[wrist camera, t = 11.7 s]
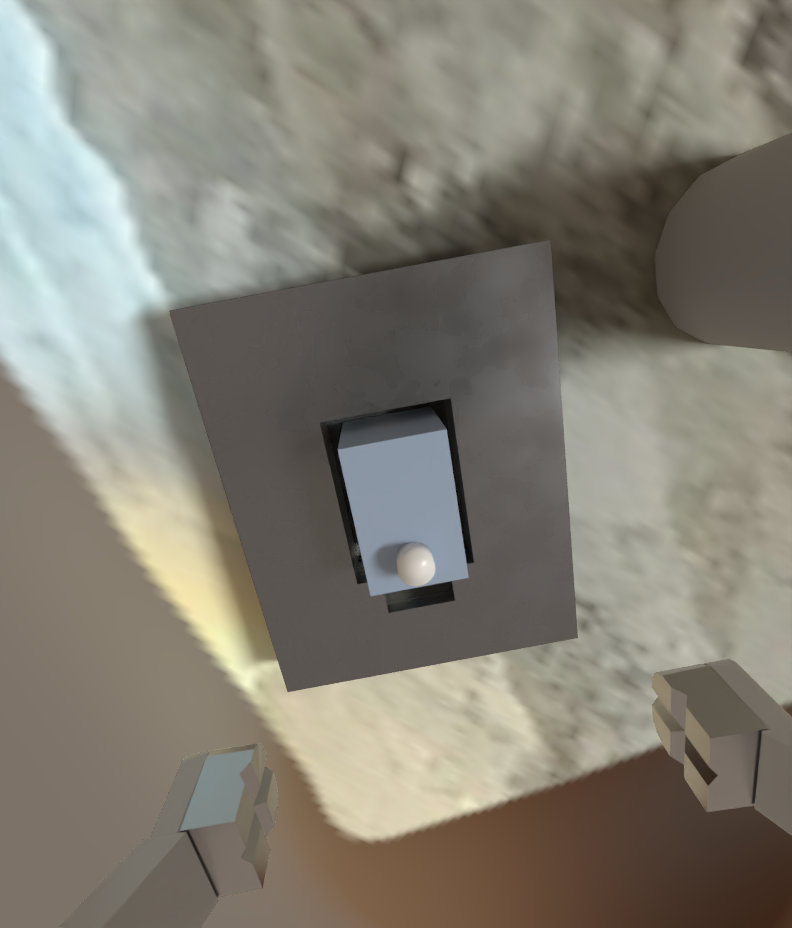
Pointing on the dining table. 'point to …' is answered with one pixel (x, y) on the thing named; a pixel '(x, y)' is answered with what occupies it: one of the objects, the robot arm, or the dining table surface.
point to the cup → (733, 252)
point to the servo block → (403, 500)
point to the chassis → (378, 389)
